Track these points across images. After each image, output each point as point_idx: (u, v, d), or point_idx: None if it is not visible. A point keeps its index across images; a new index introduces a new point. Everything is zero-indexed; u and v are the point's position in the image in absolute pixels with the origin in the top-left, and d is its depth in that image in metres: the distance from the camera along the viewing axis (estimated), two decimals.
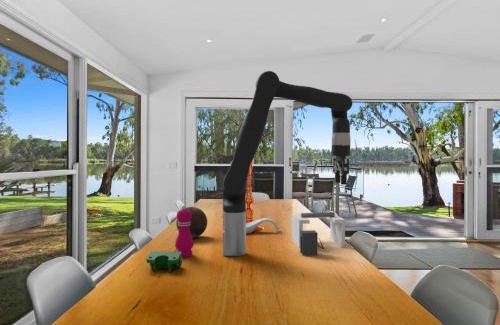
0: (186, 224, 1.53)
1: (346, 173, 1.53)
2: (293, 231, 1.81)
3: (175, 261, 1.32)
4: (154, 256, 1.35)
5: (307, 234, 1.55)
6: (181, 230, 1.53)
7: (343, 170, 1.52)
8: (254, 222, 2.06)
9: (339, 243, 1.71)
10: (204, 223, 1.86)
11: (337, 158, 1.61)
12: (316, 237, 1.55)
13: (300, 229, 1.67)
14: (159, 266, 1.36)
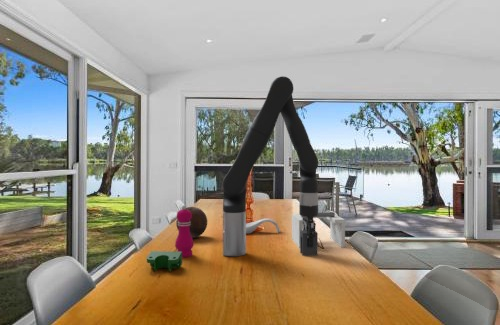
0: (186, 224, 1.53)
1: (312, 237, 1.52)
2: (293, 231, 1.81)
3: (175, 261, 1.33)
4: (155, 256, 1.35)
5: None
6: (181, 230, 1.53)
7: (309, 234, 1.51)
8: (255, 222, 2.06)
9: (339, 243, 1.71)
10: (204, 223, 1.86)
11: (305, 217, 1.58)
12: (316, 237, 1.55)
13: (300, 229, 1.67)
14: (159, 266, 1.36)
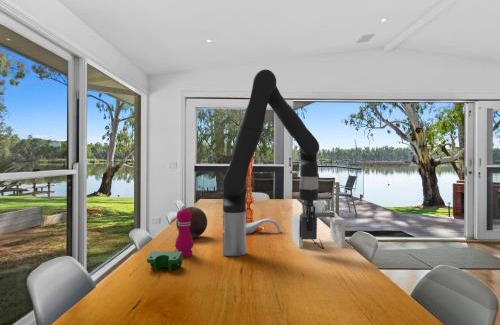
0: (186, 224, 1.53)
1: (311, 220, 1.52)
2: (293, 231, 1.81)
3: (175, 261, 1.33)
4: (155, 256, 1.35)
5: None
6: (181, 230, 1.53)
7: (308, 218, 1.51)
8: (256, 222, 2.05)
9: (339, 243, 1.71)
10: (204, 223, 1.86)
11: (305, 201, 1.58)
12: (315, 221, 1.55)
13: None
14: (159, 266, 1.36)
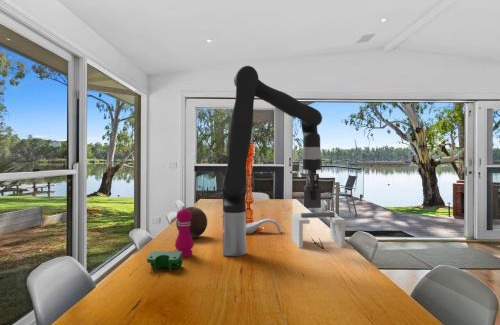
0: (186, 224, 1.53)
1: (315, 189, 1.56)
2: (293, 231, 1.81)
3: (176, 261, 1.33)
4: (155, 256, 1.35)
5: (310, 187, 1.59)
6: (181, 230, 1.53)
7: (312, 187, 1.56)
8: (257, 222, 2.05)
9: (339, 243, 1.71)
10: (204, 223, 1.86)
11: (308, 172, 1.63)
12: (319, 190, 1.59)
13: (300, 229, 1.67)
14: (160, 266, 1.36)
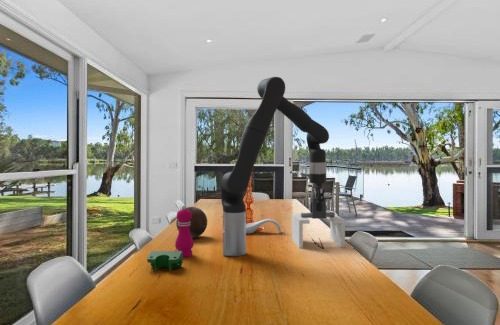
0: (186, 224, 1.53)
1: (321, 201, 1.70)
2: (293, 231, 1.81)
3: (176, 261, 1.33)
4: (155, 256, 1.35)
5: None
6: (181, 230, 1.53)
7: (318, 199, 1.70)
8: (257, 222, 2.05)
9: (339, 243, 1.71)
10: (204, 223, 1.86)
11: (314, 185, 1.76)
12: (325, 202, 1.73)
13: (300, 229, 1.67)
14: (160, 266, 1.37)
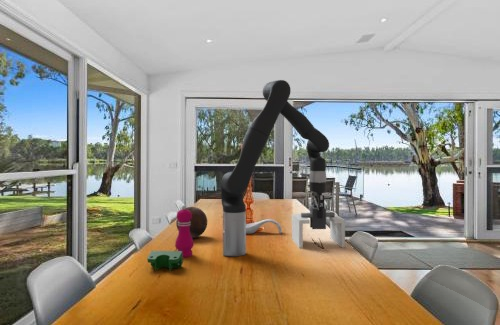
0: (186, 224, 1.53)
1: (322, 208, 1.69)
2: (293, 231, 1.81)
3: (176, 260, 1.33)
4: (155, 255, 1.36)
5: (316, 210, 1.73)
6: (181, 230, 1.53)
7: (319, 206, 1.68)
8: (258, 223, 2.04)
9: (339, 243, 1.71)
10: (204, 223, 1.86)
11: (314, 193, 1.76)
12: (324, 213, 1.73)
13: (300, 229, 1.67)
14: (160, 265, 1.37)
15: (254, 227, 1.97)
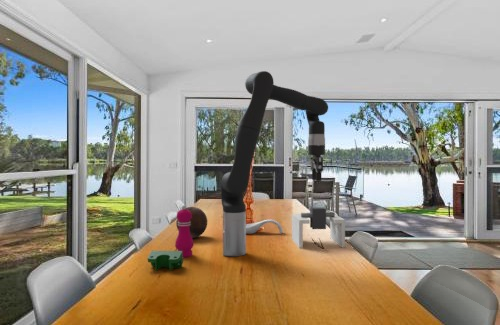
0: (186, 224, 1.53)
1: (320, 170, 1.69)
2: (293, 231, 1.81)
3: (176, 260, 1.33)
4: (156, 255, 1.36)
5: (316, 210, 1.73)
6: (181, 230, 1.53)
7: (317, 168, 1.69)
8: (259, 223, 2.04)
9: (339, 243, 1.71)
10: (204, 223, 1.86)
11: (313, 157, 1.77)
12: (324, 213, 1.73)
13: (300, 229, 1.67)
14: (160, 265, 1.37)
15: (254, 227, 1.97)
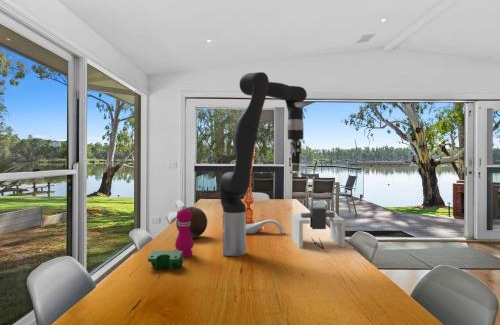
0: (186, 224, 1.53)
1: (298, 153, 1.80)
2: (293, 231, 1.81)
3: (176, 260, 1.34)
4: (156, 255, 1.36)
5: (316, 210, 1.73)
6: (181, 230, 1.53)
7: (296, 151, 1.79)
8: (260, 223, 2.04)
9: (339, 243, 1.71)
10: (204, 223, 1.86)
11: (292, 141, 1.88)
12: (324, 213, 1.73)
13: (300, 229, 1.67)
14: (160, 265, 1.37)
15: (254, 227, 1.97)
